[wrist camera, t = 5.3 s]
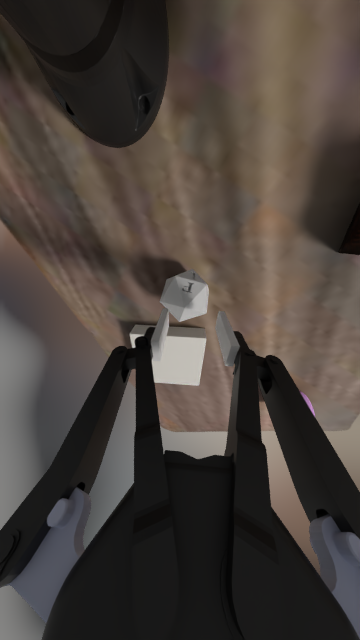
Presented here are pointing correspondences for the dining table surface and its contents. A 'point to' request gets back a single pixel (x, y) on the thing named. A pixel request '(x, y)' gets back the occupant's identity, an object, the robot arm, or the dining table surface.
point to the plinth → (177, 354)
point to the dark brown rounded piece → (352, 236)
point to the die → (185, 295)
